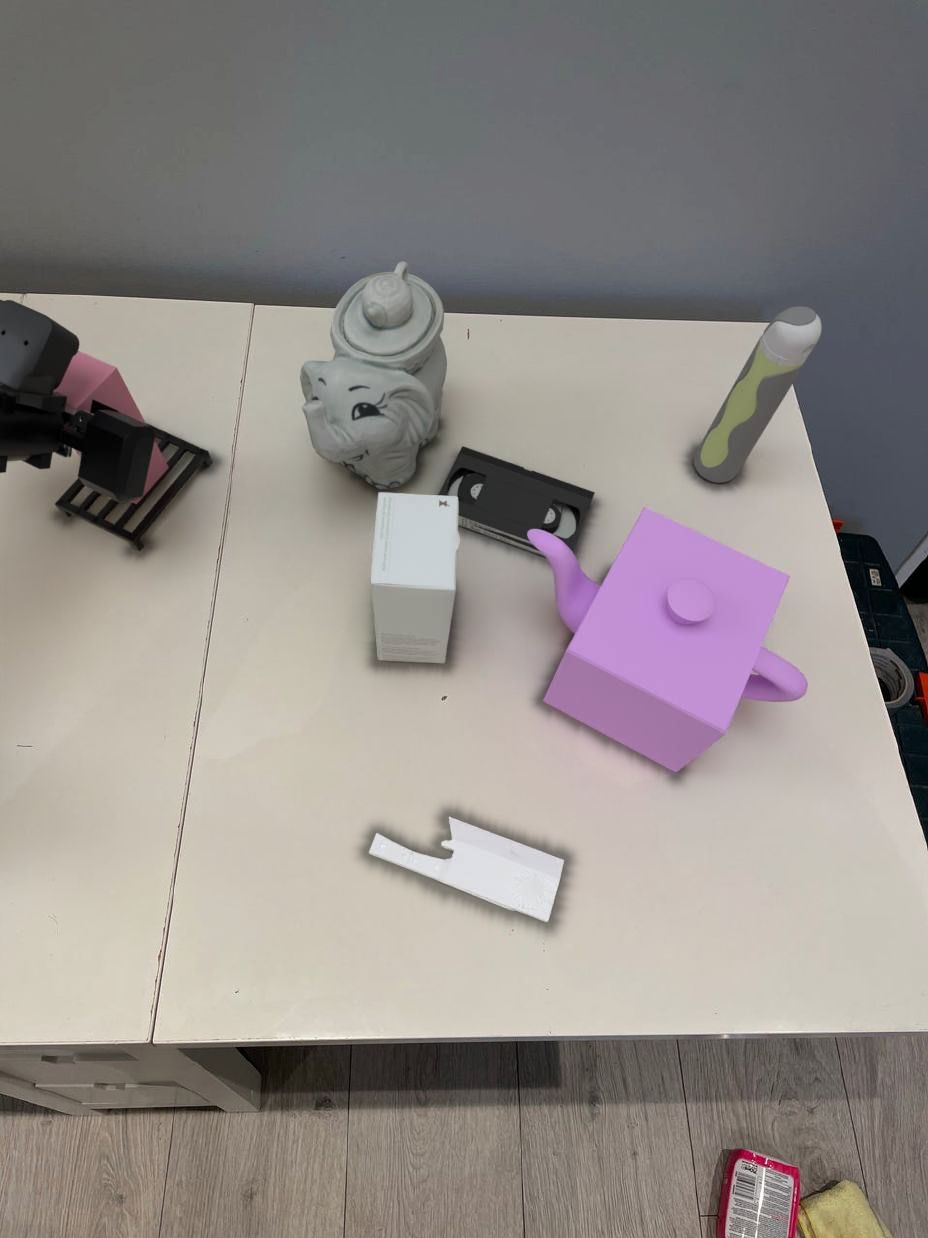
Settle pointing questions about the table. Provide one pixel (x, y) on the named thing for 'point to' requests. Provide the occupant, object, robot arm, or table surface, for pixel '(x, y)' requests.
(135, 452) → the robot arm
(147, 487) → the pink box
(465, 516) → the vhs tape
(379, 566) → the cosmetic box
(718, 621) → the teapot
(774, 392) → the spray bottle
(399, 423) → the elephant cookie jar
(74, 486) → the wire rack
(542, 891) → the butcher knife
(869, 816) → the table surface
